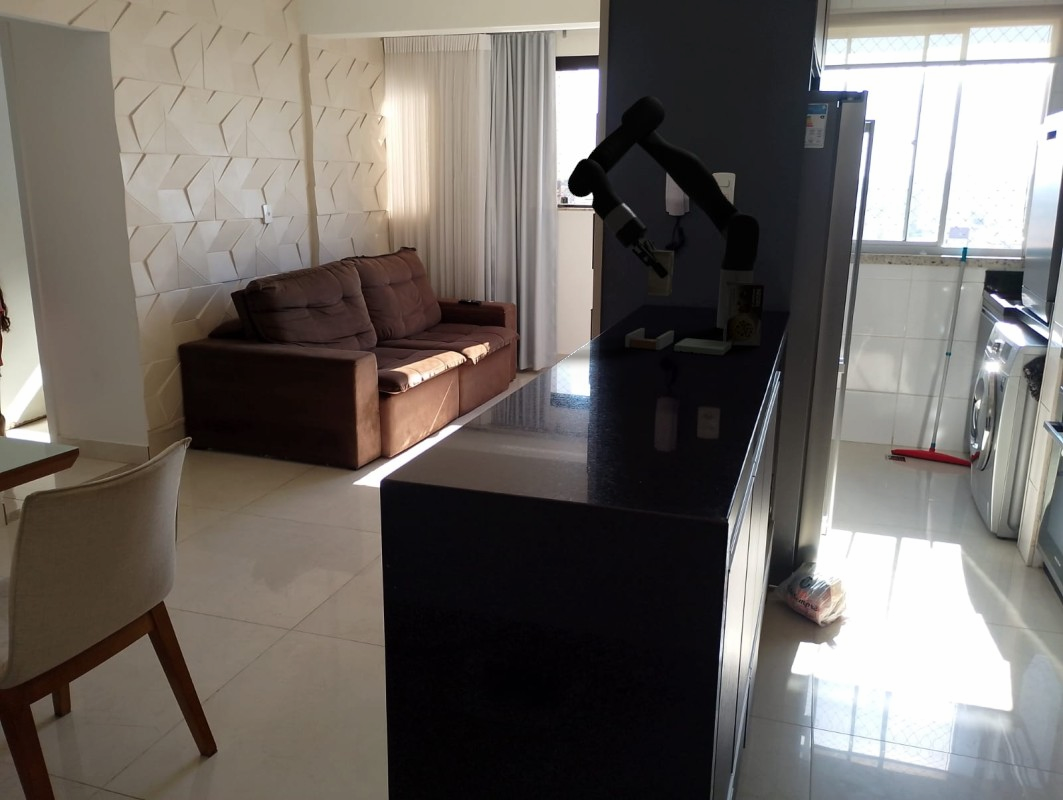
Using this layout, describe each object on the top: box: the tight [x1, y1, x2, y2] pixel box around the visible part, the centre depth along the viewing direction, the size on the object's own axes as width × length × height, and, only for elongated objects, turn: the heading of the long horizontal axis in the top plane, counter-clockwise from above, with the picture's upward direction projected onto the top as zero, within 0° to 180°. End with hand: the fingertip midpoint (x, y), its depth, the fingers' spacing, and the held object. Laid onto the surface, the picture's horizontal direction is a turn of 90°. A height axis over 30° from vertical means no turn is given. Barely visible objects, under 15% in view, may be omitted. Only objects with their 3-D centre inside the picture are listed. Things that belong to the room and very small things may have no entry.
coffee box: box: [722, 281, 765, 347], centre depth 227 cm, size 9×6×16 cm
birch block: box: [647, 249, 675, 297], centre depth 221 cm, size 5×5×11 cm
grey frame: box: [624, 327, 675, 351], centre depth 224 cm, size 14×9×3 cm, turn 157°
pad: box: [673, 337, 733, 356], centre depth 219 cm, size 12×12×2 cm
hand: (667, 275), depth 221 cm, fingers closed on birch block, 5 cm apart
